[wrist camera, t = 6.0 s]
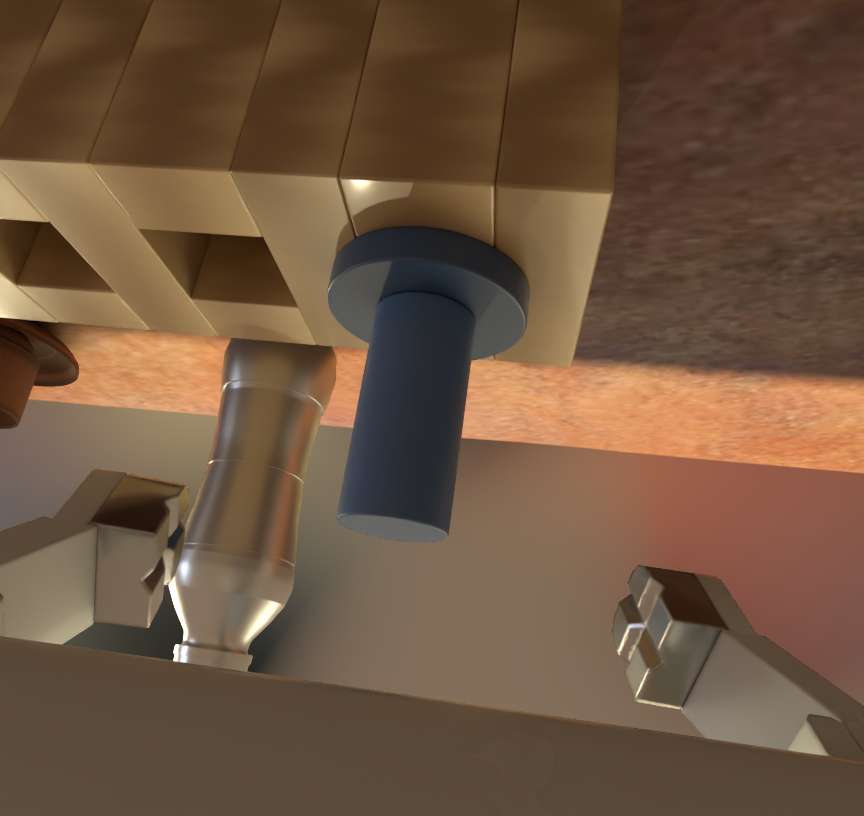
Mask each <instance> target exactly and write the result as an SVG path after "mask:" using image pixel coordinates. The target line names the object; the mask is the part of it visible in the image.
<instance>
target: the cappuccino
mask: <svg viewBox="0 0 864 816" xmlns="http://www.w3.org/2000/svg"><path fill="white" fill-rule="evenodd" d="M78 374H79V365H78V363H77V361H76V359H75V358H74V356H73V354H72V353H71V351H70V350H69V349H68V348H67V347H66V346H65V345H64V344H63V343H62V342H61V341H60V340H59V339H57V338H56V337H55V336H53V335H52V334H51V333H49V332H48V331H46V330H45V329H43V328H41V327H40V326H38V325H36V324H34V323H32V322H31V321H29V320H23V319H12V318H0V429H10V428H14V427H17V426H18V425H19V422H20V420H21V417H22V414H23V412H24V409H25V406H26V403H27V400H28V398H29V395H30V392H31V389H32V387H33V385H34V386H64V385H68V384H71V383H73V382H74V381H76V380H77V378H78Z"/></svg>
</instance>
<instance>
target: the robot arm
mask: <svg viewBox="0 0 864 816" xmlns="http://www.w3.org/2000/svg"><path fill="white" fill-rule="evenodd" d="M188 497H189V489H188V485H184V484H179V483H174V482H169V481H164V480H159V479H154V478H148V477H143V476H138V475H133V474H127V473H123V472H118V471H112V470H105V469H95V470H93V471H92V472H91V473H90V474H89V476H88V477H87V478H86V479H85V480H84V481H83V483H82V484H81V485H80V486H79V487H78V488H77V490H76V491H75V492H74V493H73V494H72V495H71V497H70V498H69V499H68V500H67V501H66V502H65V504H64V505H63V506H62V507H61V508H60V509H59V511H58V512H57V513H56V514H55V515H54V516H53V518H48V517H40V518H37V519H35V520H32V521H29V522H26V523H23V524H21V525H17V526H15V527H12V528H9V529H6V530H3V531H0V816H864V706H863V705H862V704H860V703H859V702H857V701H856V700H855V699H853V698H852V697H850V696H849V695H848V694H846V693H845V692H843V691H842V690H840V689H839V688H838V687H836V686H835V685H833V684H832V683H830V682H829V681H827V680H826V679H825V678H823V677H822V676H820V675H819V674H818V673H816V672H815V671H814V670H812V669H810V668H809V667H808V666H807V665H805V664H804V663H802V662H801V661H799V660H798V659H797V658H795V657H794V656H792V655H791V654H790V653H788V652H787V651H785V650H784V649H782V648H781V647H780V646H778V645H777V644H775V643H774V642H772V641H771V640H770V639H768V638H767V637H765V636H759V635H757V633H756V632H755V630H754V629H753V627H752V626H751V625H750V623H749V621H748V620H747V618H746V617H745V615H744V614H743V612H742V611H741V609H740V608H739V606H738V605H737V603H736V602H735V600H734V599H733V597H732V596H731V594H730V592H729V591H728V589H727V588H726V586H725V585H724V583H723V582H722V580H720V579H719V578H717V577H716V576H711V575H704V574H696V573H688V572H680V571H673V570H668V569H661V568H654V567H648V566H641V565H638V566H637V567H636V568H635V569H634V570H633V571H632V574H631V576H630V578H629V581H628V585H629V588H630V591H631V594H630V595H629V596H627V597H626V598H624V599H623V600H622V601H620V602H619V604H618V607H617V610H616V612H615V615H614V621H613V631H612V632H613V639H614V644H615V647H616V650H617V653H618V654H619V655H620V656H621V657H622V658H623V659H624V660H626V661H627V662H628V663H629V664H628V666H627V668H626V671H625V674H626V677H627V679H628V682H629V685H630V687H631V690H632V692H633V695H634V697H635V700H636V701H637V702H643V703H648V704H654V705H659V706H665V707H671V708H676V709H682V711H681V712H682V713H683V714H684V715H685V716H686V717H687V719H688V720H689V721H690V722H691V723H692V724H693V725H694V726H695V727H696V728H697V729H698V730H699V732H700V733H701V734H702V735H703V736H704V737H705V738H701V737H694V736H687V735H680V734H672V733H666V732H659V731H652V730H645V729H638V728H632V727H625V726H617V725H611V724H603V723H597V722H590V721H583V720H576V719H570V718H563V717H556V716H549V715H541V714H535V713H528V712H521V711H514V710H507V709H500V708H494V707H486V706H480V705H472V704H466V703H459V702H452V701H446V700H438V699H432V698H425V697H418V696H411V695H404V694H397V693H390V692H384V691H376V690H370V689H363V688H356V687H349V686H342V685H336V684H329V683H322V682H315V681H308V680H301V679H294V678H287V677H280V676H273V675H267V674H260V673H253V672H246V671H239V670H232V669H225V668H219V667H212V666H205V665H198V664H191V663H184V662H177V661H170V660H163V659H157V658H150V657H143V656H136V655H129V654H122V653H115V652H108V651H101V650H95V649H88V648H81V647H74V646H67V645H62V644H63V643H65V642H66V641H68V640H69V639H71V638H73V637H74V636H76V635H77V634H79V633H80V632H82V631H83V630H85V629H86V628H88V627H89V626H91V625H92V624H93V621H95V622H104V623H111V624H120V625H129V626H136V627H144V628H149V626H150V624H151V622H152V620H153V618H154V616H155V614H156V612H157V610H158V608H159V606H160V604H161V602H162V599H163V589H164V586H165V585H167V584H169V583H171V582H172V579H173V577H174V575H175V573H176V571H177V568H178V565H179V561H180V558H181V555H182V550H183V545H184V539H185V530H186V529H185V527H184V526H183V525H182V523H181V519H182V517H183V515H184V513H185V512H186V510H187V508H188Z"/></svg>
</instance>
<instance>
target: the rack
mask: <svg viewBox="0 0 864 816" xmlns="http://www.w3.org/2000/svg"><path fill="white" fill-rule="evenodd" d="M622 13H623V0H0V318H12V319H23V320H35V321H46V322H63V323H74V324H86V325H97V326H109V327H120V328H132V329H143V330H150V329H151V330H152V331H162V332H174V333H185V334H197V335H208V336H220V337H230V338H241V339H253V340H264V341H276V342H287V343H299V344H310V345H316V344H317V345H322V346H333V347H344V348H356V349H367V350H368V349H369V344H368V343H366V342H364V341H363V340H361V339H359V338H357V337H356V336H354V335H353V334H351V333H350V332H349V331H347V330H346V329H345V328H344V327H343V326H342V325H341V324H339V323H338V321H337V320H336V319H335V318H334V316H333V315H332V313H331V311H330V309H329V306H328V303H327V290H328V285H329V281H330V276H331V272H332V267H333V263H334V260H335V258H336V256H337V254H338V253H339V252H340V251H341V249H342V248H343V247H344V246H345V245H347V244H348V243H349V242H350V241H352V240H354V239H356V238H357V237H359V236H362V235H364V234H367V233H369V232H373V231H377V230H380V229H387V228H393V227H427V228H437V229H442V230H447V231H452V232H456V233H459V234H463V235H466V236H469V237H472V238H475V239H477V240H480V241H482V242H484V243H486V244H488V245H490V246H492V247H494V248H495V249H497V250H499V251H500V252H502V253H503V254H504V255H506V256H507V257H509V258H510V259H511V260H512V261H513V262H514V263H515V264H516V265H517V266H518V267H519V269H520V270H521V271H522V273H523V274H524V276H525V278H526V280H527V282H528V286H529V290H530V300H529V311H528V321H527V326H526V330H525V332H524V334H523V336H522V337H521V339H520V340H519V341H518V342H517V343H516V344H515V345H513V346H512V347H511V348H509V349H507V350H506V351H504V352H501V353H499V354H497V355H494V356H491V357H487V358H483V359H481V360H494V358H495V360H498V361H510V362H521V363H533V364H544V365H556V366H567V367H570V366H571V365H572V363H573V358H574V354H575V350H576V346H577V342H578V338H579V334H580V329H581V325H582V321H583V317H584V313H585V309H586V305H587V300H588V296H589V292H590V288H591V284H592V280H593V276H594V271H595V267H596V263H597V259H598V255H599V251H600V247H601V242H602V238H603V234H604V230H605V226H606V222H607V218H608V213H609V209H610V205H611V201H612V197H613V193H614V177H615V156H616V136H617V115H618V95H619V75H620V54H621V34H622Z"/></svg>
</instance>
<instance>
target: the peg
mask: <svg viewBox="0 0 864 816" xmlns="http://www.w3.org/2000/svg"><path fill="white" fill-rule="evenodd" d="M529 300H530V290H529V286H528V282H527V280H526V278H525V276H524V274H523V273H522V271H521V270H520V269H519V267H518V266H517V265H516V264H515V263H514V262H513V261H512V260H511V259H510V258H509V257H507V256H506V255H504V254H503V253H502V252H500V251H499V250H497V249H495V248H494V247H492V246H490V245H488V244H486V243H484V242H482V241H480V240H477V239H475V238H472V237H469V236H466V235H463V234H459V233H456V232H452V231H447V230H442V229H437V228H427V227H393V228H387V229H380V230H377V231H373V232H369V233H367V234H364V235H362V236H359V237H357V238H356V239H354V240H352V241H350V242H349V243H348V244H347V245H345V246H344V247H343V248H342V249H341V251H340V252H339V253H338V254H337V256H336V258H335V260H334V263H333V267H332V272H331V276H330V281H329V285H328V290H327V303H328V306H329V309H330V311H331V313H332V315H333V316H334V318H335V319H336V320H337V321H338V323H339V324H341V325H342V326H343V327H344V328H345V329H346V330H347V331H349V332H350V333H351V334H353V335H354V336H356V337H357V338H359V339H361V340H363V341H364V342H366V343H368V344H369V349H368V354H367V359H366V364H365V370H364V375H363V380H362V385H361V390H360V396H359V401H358V406H357V411H356V417H355V422H354V427H353V432H352V438H351V444H350V448H349V454H348V459H347V464H346V469H345V474H344V480H343V485H342V490H341V495H340V501H339V506H338V511H337V516H336V519H337V522H338V523H339V524H340V525H342V526H344V527H346V528H347V529H350V530H352V531H355V532H358V533H361V534H365V535H369V536H373V537H378V538H383V539H389V540H396V541H404V542H419V543H420V542H421V543H425V542H426V543H428V542H437V541H442V540H445V539H446V538H447V537H448V535H449V528H450V521H451V512H452V505H453V497H454V490H455V482H456V474H457V466H458V458H459V451H460V442H461V435H462V428H463V420H464V412H465V404H466V397H467V389H468V381H469V373H470V365H471V360H478V359H483V358H487V357H491V356H494V355H497V354H499V353H501V352H504V351H506V350H507V349H509V348H511V347H512V346H513V345H515V344H516V343H517V342H518V341H519V340H520V339H521V337H522V336H523V334H524V332H525V330H526V326H527V321H528V311H529Z"/></svg>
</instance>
